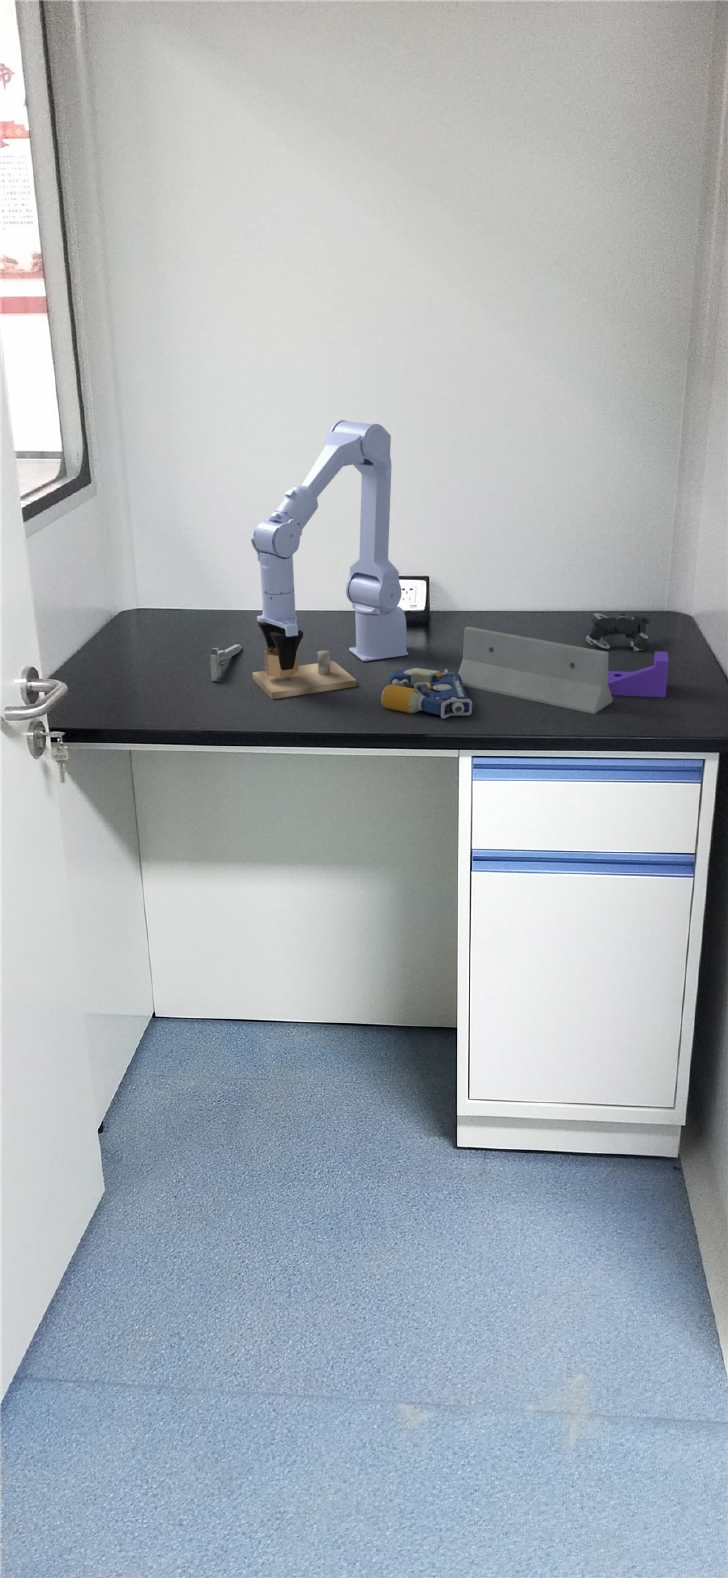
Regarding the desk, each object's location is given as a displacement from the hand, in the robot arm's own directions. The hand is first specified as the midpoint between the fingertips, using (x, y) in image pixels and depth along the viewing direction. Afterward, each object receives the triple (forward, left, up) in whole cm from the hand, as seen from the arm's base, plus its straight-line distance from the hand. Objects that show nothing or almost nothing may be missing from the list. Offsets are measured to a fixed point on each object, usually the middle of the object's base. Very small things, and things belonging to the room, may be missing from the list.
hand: (282, 664), depth 212 cm
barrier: (-39, +22, -5) cm, 45 cm away
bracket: (-56, +28, -5) cm, 62 cm away
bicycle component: (-69, +3, -5) cm, 69 cm away
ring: (0, 0, -2) cm, 2 cm away
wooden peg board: (-4, 0, -4) cm, 6 cm away
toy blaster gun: (-20, +18, -5) cm, 27 cm away
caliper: (+6, -16, -5) cm, 18 cm away
